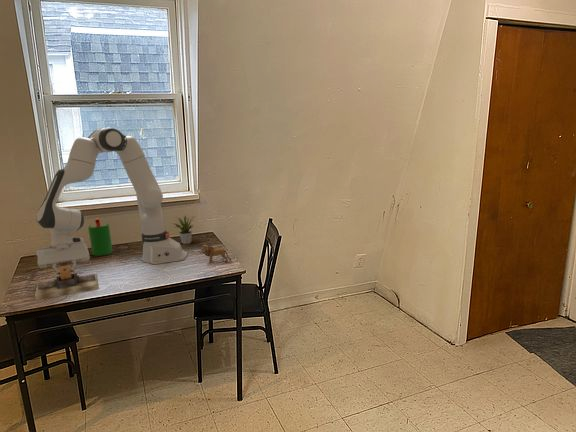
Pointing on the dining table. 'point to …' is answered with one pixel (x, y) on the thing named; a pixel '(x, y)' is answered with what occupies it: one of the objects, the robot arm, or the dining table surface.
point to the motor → (100, 239)
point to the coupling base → (66, 286)
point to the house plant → (185, 230)
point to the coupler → (65, 271)
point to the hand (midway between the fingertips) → (65, 272)
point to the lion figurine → (214, 252)
